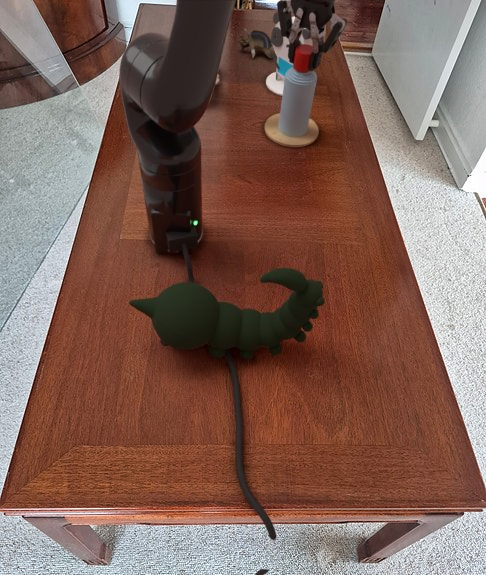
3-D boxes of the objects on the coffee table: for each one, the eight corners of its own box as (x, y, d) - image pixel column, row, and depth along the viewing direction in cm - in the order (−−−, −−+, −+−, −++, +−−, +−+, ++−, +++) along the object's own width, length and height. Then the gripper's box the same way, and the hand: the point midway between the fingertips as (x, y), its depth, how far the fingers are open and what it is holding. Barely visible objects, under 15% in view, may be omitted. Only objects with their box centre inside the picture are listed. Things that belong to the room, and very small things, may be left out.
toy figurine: (293, 324, 74) (136, 306, 71) (329, 248, 59) (131, 222, 56) (295, 378, 68) (125, 361, 66) (335, 309, 53) (116, 283, 51)
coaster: (320, 149, 99) (321, 146, 98) (264, 145, 98) (265, 143, 98) (316, 116, 106) (316, 113, 105) (264, 112, 105) (264, 110, 105)
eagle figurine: (236, 57, 117) (271, 55, 115) (236, 25, 115) (272, 23, 113) (243, 60, 124) (276, 59, 122) (242, 30, 122) (276, 29, 120)
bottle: (307, 138, 100) (323, 62, 86) (278, 136, 99) (289, 59, 86) (306, 120, 103) (320, 45, 90) (277, 118, 103) (288, 43, 90)
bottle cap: (302, 59, 92) (305, 41, 89) (317, 68, 90) (320, 50, 88) (288, 66, 90) (291, 48, 87) (303, 74, 89) (306, 56, 86)
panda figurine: (255, 78, 114) (260, 13, 102) (289, 66, 118) (298, 2, 106) (286, 102, 108) (296, 36, 96) (321, 88, 113) (334, 24, 101)
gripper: (368, -31, 76) (343, 70, 90) (295, -54, 80) (282, 46, 94) (346, -17, 72) (324, 86, 86) (271, -43, 76) (262, 60, 90)
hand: (302, 64), depth 90 cm, fingers closed on bottle cap, 4 cm apart
